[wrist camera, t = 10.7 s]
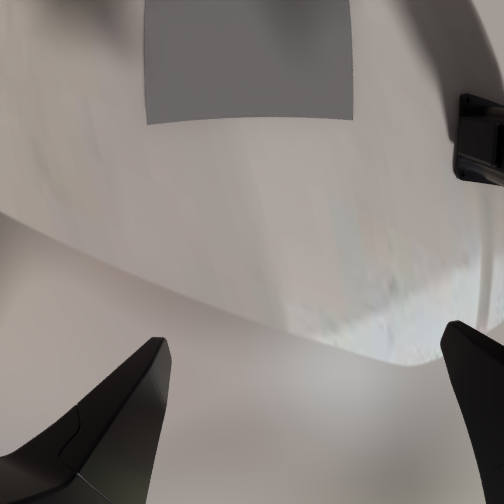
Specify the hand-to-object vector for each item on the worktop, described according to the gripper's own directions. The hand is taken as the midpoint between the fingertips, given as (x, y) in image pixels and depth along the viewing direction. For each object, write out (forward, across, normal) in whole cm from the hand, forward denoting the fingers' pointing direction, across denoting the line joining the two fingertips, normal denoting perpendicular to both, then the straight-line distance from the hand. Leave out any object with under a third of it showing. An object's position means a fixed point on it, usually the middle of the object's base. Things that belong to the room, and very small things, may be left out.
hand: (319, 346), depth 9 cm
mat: (+12, +2, -12) cm, 17 cm away
